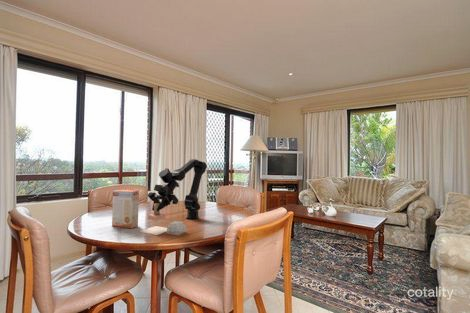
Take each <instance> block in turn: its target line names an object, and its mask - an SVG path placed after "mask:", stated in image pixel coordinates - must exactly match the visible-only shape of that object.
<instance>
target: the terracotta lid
mask: <svg viewBox="0 0 470 313" xmlns="http://www.w3.org/2000/svg"><path fill="white" fill-rule="evenodd" d="M159 205H160V204H159V203H155V204H154V211H153V213H150V214H148V215H147V216H148V217H147V219H148V220H151V221H153V222H156V221H160V220H166V214H164V213H161V212H160V211H161V210H159V211H157V208H158V206H159Z"/></svg>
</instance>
